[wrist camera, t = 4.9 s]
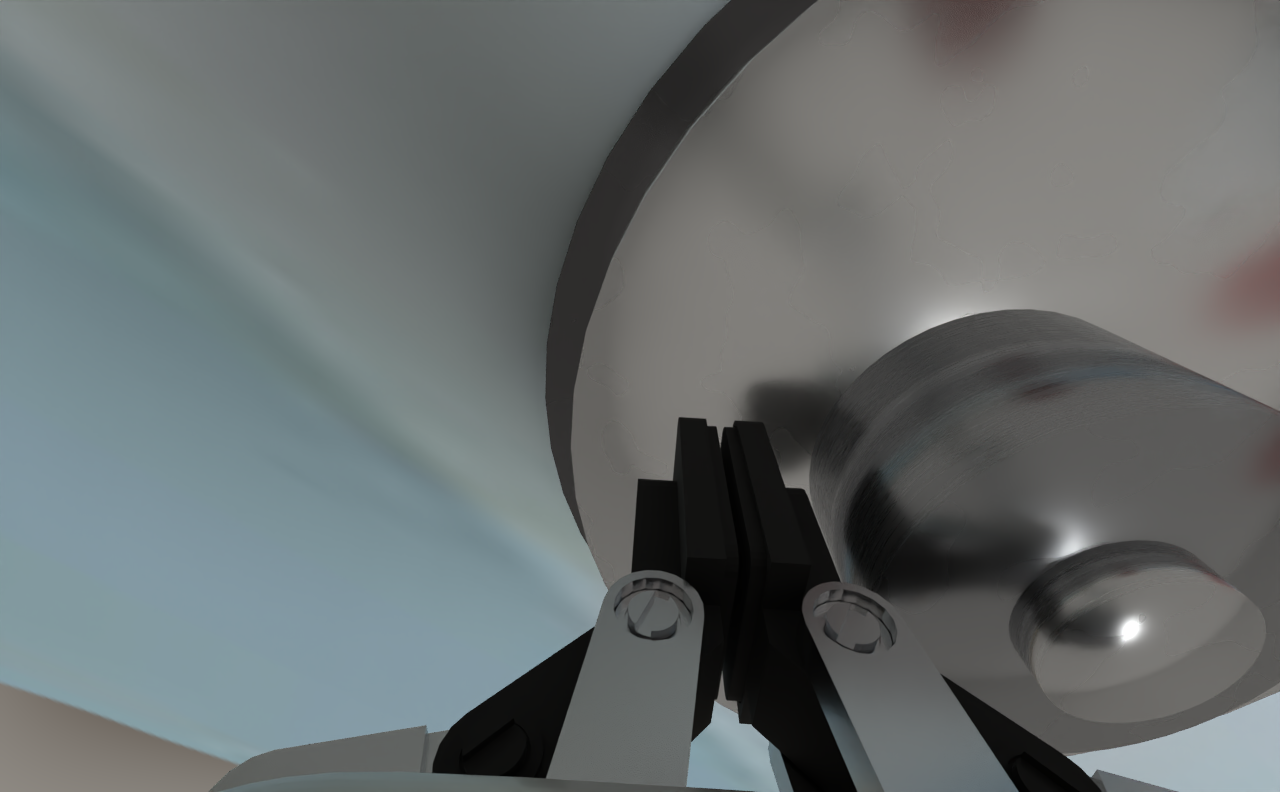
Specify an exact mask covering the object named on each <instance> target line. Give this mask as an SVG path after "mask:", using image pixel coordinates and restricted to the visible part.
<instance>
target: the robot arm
mask: <svg viewBox="0 0 1280 792" xmlns="http://www.w3.org/2000/svg"><path fill="white" fill-rule="evenodd" d="M722 674H723V683H724V692H725V697H726V700H727V701H737V708H738V715H739V723H741V724H752V726H753V727H754V728H755V729H756V730H757V731H759V732H760V733H761V734H762V735H763V736H764V737H765V738H766V739H767V740H768V741H769V746H768V750H769V756H770V762H771V766H772V769H773V772H774V775H775V778H776V782H777V785H778V788H779V791H780V792H1177V791H1173V790H1170V789H1166V788H1162V787H1159V786H1155V785H1151V784H1148V783H1144V782H1141V781H1137V780H1133V779H1130V778H1126V777H1122V776H1119V775H1115V774H1112V773H1108V772H1104V771H1101V770H1096V772H1095V773H1094V775H1093V776H1092V777H1089V776H1088V775H1087V774H1086V773H1085V772H1084V771H1083V770H1082V769H1081V768H1080V767H1079V766H1077V765H1076V764H1075V763H1074V762H1072V761H1071V760H1070V759H1068V758H1067V757H1066V756H1065V755H1063V754H1062V753H1061V752H1059V751H1058V750H1056V749H1055V748H1053V747H1052V746H1050V745H1048V744H1047V743H1045V742H1044V741H1042V740H1041V739H1039V738H1038V737H1036V736H1035V735H1033V734H1032V733H1030V732H1029V731H1027V730H1026V729H1024V728H1023V727H1021V726H1020V725H1018V724H1017V723H1015V722H1013V721H1012V720H1010V719H1009V718H1007V717H1006V716H1004V715H1003V714H1001V713H1000V712H998V711H997V710H995V709H994V708H992V707H991V706H989V705H988V704H986V703H985V702H983V701H982V700H980V699H979V698H977V697H975V696H974V695H972V694H971V693H969V692H968V691H966V690H965V689H963V688H962V687H960V686H959V685H957V684H956V683H954V682H953V681H951V680H950V679H948V678H947V677H945V676H944V675H942V674H940V673H939V671H938V670H937V668H936V667H935V665H934V664H933V662H932V661H931V659H930V658H929V656H928V655H927V653H926V652H925V650H924V649H923V647H922V646H921V644H920V643H919V641H918V640H917V638H916V637H915V635H914V634H913V632H912V631H911V629H910V628H909V626H908V625H907V623H906V622H905V620H904V619H903V617H902V616H901V615H900V614H899V612H898V611H897V610H896V609H895V608H894V607H893V606H892V604H890V603H889V602H888V601H886V600H885V599H884V598H882V597H881V596H880V595H878V594H876V593H874V592H872V591H870V590H868V589H866V588H864V587H862V586H858V585H855V584H851V583H847V582H841V580H840V578H839V575H838V573H837V570H836V567H835V565H834V562H833V560H832V557H831V555H830V552H829V549H828V547H827V544H826V542H825V539H824V537H823V534H822V531H821V529H820V526H819V524H818V521H817V519H816V516H815V513H814V511H813V508H812V506H811V503H810V501H809V498H808V496H807V494H806V492H805V490H804V489H802V488H786V487H785V484H784V482H783V479H782V476H781V473H780V470H779V467H778V464H777V461H776V458H775V455H774V452H773V449H772V446H771V443H770V440H769V437H768V434H767V431H766V428H765V425H764V423H763V422H755V421H738V420H735V421H734V424H733V427H724V428H723V432H722V439H721V447H720V443H719V437H718V432H717V427H716V426H707V420H706V419H704V418H687V417H679V418H678V426H677V437H676V449H675V460H674V472H673V481H670V480H653V479H638V484H637V498H636V512H635V526H634V540H633V555H632V569H631V573H630V574H628V575H626V576H624V577H622V578H620V579H619V580H618V581H616V582H615V583H614V584H613V585H612V586H611V587H610V588H609V590H608V592H607V594H606V596H605V597H604V600H603V603H602V606H601V609H600V612H599V616H598V619H597V622H596V625H595V627H593V628H592V629H590V630H589V631H587V632H586V633H584V634H583V635H581V636H580V637H578V638H577V639H576V640H574V641H573V642H571V643H570V644H568V645H567V646H565V647H564V648H562V649H561V650H559V651H558V652H556V653H555V654H553V655H552V656H551V657H549V658H548V659H546V660H545V661H543V662H542V663H540V664H539V665H537V666H536V667H534V668H533V669H531V670H530V671H528V672H527V673H526V674H524V675H523V676H521V677H520V678H518V679H517V680H515V681H514V682H512V683H511V684H509V685H508V686H506V687H505V688H503V689H502V690H501V691H499V692H498V693H496V694H495V695H493V696H492V697H490V698H489V699H487V700H486V701H484V702H483V703H481V704H480V705H478V706H477V707H476V708H474V709H473V710H471V711H470V712H468V713H467V714H466V715H464V716H463V717H462V718H461V719H460V720H459V721H458V722H456V723H455V724H454V725H453V726H452V727H451V728H450V730H446V731H440V732H434V733H428V731H427V726H426V725H425V726H419V727H413V728H406V729H400V730H394V731H388V732H382V733H376V734H370V735H363V736H357V737H351V738H345V739H339V740H333V741H326V742H320V743H314V744H308V745H302V746H296V747H290V748H283V749H277V750H273V751H270V752H267V753H264V754H261V755H257V756H254V757H252V758H250V759H248V760H247V761H245V762H244V763H242V764H240V765H239V766H237V767H236V768H234V769H232V770H231V771H229V772H228V773H227V774H226V775H225V776H224V777H223V778H222V779H221V780H220V781H219V782H218V783H217V784H216V785H215V786H214V787H213V788H212V789H211V790H210V791H209V792H753V791H738V790H723V789H708V788H691V787H686V785H687V776H688V766H689V757H690V747H691V742H692V741H693V740H694V739H695V738H696V737H697V736H698V735H699V734H700V733H701V732H702V731H703V730H704V729H705V728H706V727H707V726H708V725H709V724H710V723H711V718H712V712H713V706H714V700H717V698H718V693H719V687H720V681H721V675H722Z"/></svg>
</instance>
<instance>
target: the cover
mask: <svg viewBox="0 0 1280 792" xmlns="http://www.w3.org/2000/svg"><path fill="white" fill-rule="evenodd" d="M809 486H810V496H811V501H812V506H813V509H814V512H815V514H816V517H817V519H818V522H819V525H820V527H821V530H822V532H823V535H824V538H825V540H826V543H827V545H828V548H829V551H830V553H831V556H832V558H833V561H834V563H835V566H836V569H837V571H838V574H839V576H840V579H841V582H847V583H851V584H855V585H858V586H862V587H864V588H866V589H868V590H870V591H872V592H874V593H876V594H878V595H880V596H881V597H882V598H884V599H885V600H886V601H888V602H889V603H890V604H892V606H893V607H894V608H895V609H896V610H897V611H898V612H899V614H900V615H901V616H902V617H903V619H904V620H905V622H906V623H907V625H908V626H909V628H910V629H911V631H912V632H913V634H914V635H915V637H916V638H917V640H918V641H919V643H920V644H921V646H922V647H923V649H924V650H925V652H926V653H927V655H928V656H929V658H930V659H931V661H932V662H933V664H934V665H935V667H936V668H937V670H938V671H939V673H940V674H942V675H944V676H945V677H947V678H948V679H950V680H951V681H953V682H954V683H956V684H957V685H959V686H960V687H962V688H963V689H965V690H966V691H968V692H969V693H971V694H972V695H974V696H975V697H977V698H979V699H980V700H982V701H983V702H985V703H986V704H988V705H989V706H991V707H992V708H994V709H995V710H997V711H998V712H1000V713H1001V714H1003V715H1004V716H1006V717H1007V718H1009V719H1010V720H1012V721H1013V722H1015V723H1017V724H1018V725H1020V726H1021V727H1023V728H1024V729H1026V730H1027V731H1029V732H1030V733H1032V734H1033V735H1035V736H1036V737H1038V738H1039V739H1041V740H1042V741H1044V742H1045V743H1047V744H1048V745H1050V746H1052V747H1053V748H1055V749H1056V750H1058V751H1059V752H1061V753H1062V754H1064V753H1082V752H1090V751H1097V750H1105V749H1112V748H1117V747H1122V746H1127V745H1132V744H1137V743H1141V742H1145V741H1149V740H1152V739H1156V738H1160V737H1164V736H1167V735H1170V734H1173V733H1176V732H1179V731H1182V730H1185V729H1188V728H1191V727H1194V726H1196V725H1199V724H1201V723H1203V722H1206V721H1208V720H1211V719H1213V718H1215V717H1218V716H1220V715H1222V714H1225V713H1227V712H1229V711H1231V710H1233V709H1235V708H1237V707H1239V706H1240V705H1242V704H1244V703H1246V702H1248V701H1250V700H1252V699H1254V698H1255V697H1257V696H1259V695H1260V694H1262V693H1264V692H1265V691H1267V690H1269V689H1270V688H1272V687H1274V686H1275V685H1277V684H1279V683H1280V411H1278V410H1276V409H1274V408H1272V407H1270V406H1267V405H1265V404H1263V403H1261V402H1259V401H1257V400H1255V399H1252V398H1250V397H1248V396H1246V395H1244V394H1242V393H1240V392H1237V391H1235V390H1233V389H1231V388H1229V387H1227V386H1225V385H1223V384H1220V383H1218V382H1216V381H1214V380H1212V379H1210V378H1208V377H1205V376H1203V375H1201V374H1199V373H1197V372H1195V371H1193V370H1190V369H1188V368H1186V367H1184V366H1182V365H1180V364H1178V363H1175V362H1173V361H1171V360H1169V359H1167V358H1165V357H1163V356H1160V355H1158V354H1156V353H1154V352H1152V351H1150V350H1148V349H1145V348H1143V347H1141V346H1139V345H1137V344H1135V343H1133V342H1131V341H1128V340H1126V339H1124V338H1122V337H1120V336H1118V335H1116V334H1113V333H1111V332H1109V331H1107V330H1105V329H1103V328H1101V327H1098V326H1096V325H1094V324H1091V323H1089V322H1087V321H1084V320H1082V319H1080V318H1077V317H1073V316H1069V315H1065V314H1061V313H1057V312H1051V311H1042V310H1033V309H1013V310H999V311H992V312H984V313H979V314H975V315H971V316H967V317H963V318H959V319H955V320H952V321H949V322H947V323H944V324H941V325H938V326H936V327H933V328H930V329H928V330H926V331H924V332H922V333H920V334H918V335H916V336H914V337H912V338H910V339H908V340H906V341H905V342H903V343H901V344H900V345H898V346H897V347H895V348H894V349H892V350H890V351H889V352H887V353H886V354H884V355H883V356H882V357H881V358H879V359H878V360H877V361H876V362H874V363H873V364H872V365H870V366H869V367H868V368H867V369H866V370H865V371H864V372H863V373H862V374H861V375H860V376H859V377H858V378H857V379H856V380H855V381H854V382H853V383H852V384H851V385H850V386H849V387H848V388H847V389H846V391H845V392H844V393H843V394H842V396H841V397H840V398H839V399H838V401H837V402H836V403H835V405H834V406H833V408H832V410H831V411H830V413H829V415H828V416H827V418H826V419H825V421H824V423H823V426H822V428H821V430H820V432H819V435H818V437H817V439H816V443H815V446H814V450H813V453H812V457H811V464H810V472H809Z"/></svg>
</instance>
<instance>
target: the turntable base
mask: <svg viewBox="0 0 1280 792" xmlns="http://www.w3.org/2000/svg"><path fill="white" fill-rule="evenodd" d="M816 1H818V0H731V1H730V2H729V3H728V4H727V5H726V6H725V7H724V8H723V9H722V10H720V11H719V12H718V13H717V14H716V15H715V16H714V17H713V18H712V19H711V20H710V21H709V22H708V23H707V24H705V26H704V27H703V28H702V29H701V30H700V32H699V33H698V34H697V35H696V36H695V38H694V39H693V40H692V41H691V42H690V44H689V45H688V46H687V47H686V48H685V50H684V51H683V52H682V53H681V54H680V56H679V57H678V58H677V59H676V60H675V62H674V63H673V64H672V65H671V66H670V67H669V69H668V70H667V71H666V72H665V73H664V75H663V76H662V77H661V78H660V79H659V81H658V82H657V83H656V84H655V85H654V87H653V88H652V89H651V90H650V92H649V93H648V95H647V96H646V98H645V100H644V101H643V103H642V104H641V106H640V107H639V109H638V110H637V112H636V114H635V115H634V117H633V118H632V120H631V121H630V123H629V125H628V126H627V128H626V129H625V131H624V132H623V134H622V135H621V137H620V139H619V140H618V142H617V143H616V145H615V146H614V148H613V150H612V151H611V153H610V154H609V156H608V158H607V160H606V162H605V164H604V166H603V168H602V170H601V172H600V174H599V177H598V179H597V181H596V183H595V185H594V187H593V189H592V191H591V194H590V196H589V198H588V200H587V202H586V204H585V206H584V208H583V211H582V213H581V215H580V217H579V219H578V221H577V224H576V227H575V230H574V233H573V236H572V240H571V243H570V246H569V249H568V252H567V255H566V258H565V262H564V265H563V268H562V271H561V274H560V277H559V280H558V283H557V289H556V294H555V300H554V306H553V312H552V317H551V323H550V329H549V335H548V341H547V362H546V395H545V398H546V407H547V416H548V424H549V433H550V441H551V449H552V453H553V456H554V460H555V464H556V467H557V471H558V475H559V479H560V482H561V486H562V490H563V493H564V496H565V498H566V500H567V503H568V505H569V507H570V510H571V512H572V514H573V516H574V519H575V521H576V523H577V526H578V528H579V530H580V533H581V535H582V536H583V538H584V539H585V541H586V543H587V539H586V535H585V532H584V528H583V524H582V520H581V516H580V512H579V509H578V505H577V501H576V495H575V485H574V475H573V465H572V454H571V434H572V415H573V396H574V388H575V383H576V378H577V373H578V368H579V363H580V358H581V353H582V348H583V343H584V339H585V334H586V330H587V327H588V324H589V321H590V318H591V315H592V313H593V310H594V307H595V304H596V301H597V299H598V296H599V293H600V290H601V287H602V284H603V282H604V279H605V276H606V273H607V270H608V268H609V265H610V262H611V260H612V257H613V254H614V252H615V249H616V246H617V244H618V242H619V240H620V238H621V236H622V234H623V232H624V230H625V228H626V226H627V224H628V223H629V221H630V219H631V217H632V215H633V213H634V211H635V209H636V207H637V205H638V203H639V201H640V199H641V197H642V195H643V193H644V191H645V189H646V187H647V186H648V184H649V183H650V181H651V180H652V178H653V177H654V175H655V174H656V172H657V171H658V170H659V168H660V167H661V165H662V164H663V162H664V161H665V159H666V158H667V156H668V155H669V153H670V152H671V150H672V149H673V148H674V146H675V145H676V143H677V142H678V140H679V139H680V137H681V136H682V134H683V133H684V131H685V130H686V129H687V127H688V126H689V125H690V124H691V123H692V121H693V120H694V119H695V118H696V117H697V116H698V115H699V113H700V112H701V111H702V110H703V109H704V108H705V107H706V106H707V104H708V103H709V102H710V101H711V100H712V99H713V98H714V96H715V95H716V94H717V93H718V92H719V91H720V90H721V89H722V87H723V86H724V85H725V84H726V83H727V82H728V81H729V80H730V78H731V77H732V76H733V75H734V74H735V73H736V72H737V70H738V69H739V68H740V67H742V66H743V65H744V64H745V63H746V62H747V61H748V60H749V59H751V58H752V57H753V56H754V55H755V54H756V53H757V52H758V51H760V50H761V49H762V48H763V47H764V46H765V45H766V44H767V43H769V42H770V41H771V40H772V39H773V38H774V37H775V36H777V35H778V34H779V33H780V32H781V31H782V30H783V29H784V28H786V27H787V26H788V25H789V24H790V23H791V22H792V21H793V20H795V19H796V18H797V17H798V16H799V15H800V14H801V13H803V12H804V11H805V10H806V9H808V8H809V7H810V6H811V5H813V4H814V3H815V2H816ZM587 544H588V543H587Z"/></svg>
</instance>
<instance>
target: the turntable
mask: <svg viewBox="0 0 1280 792" xmlns="http://www.w3.org/2000/svg"><path fill="white" fill-rule="evenodd" d="M1013 309H1033V310H1042V311H1051V312H1057V313H1061V314H1065V315H1069V316H1073V317H1077V318H1080V319H1082V320H1084V321H1087V322H1089V323H1091V324H1094V325H1096V326H1098V327H1101V328H1103V329H1105V330H1107V331H1109V332H1111V333H1113V334H1116V335H1118V336H1120V337H1122V338H1124V339H1126V340H1128V341H1131V342H1133V343H1135V344H1137V345H1139V346H1141V347H1143V348H1145V349H1148V350H1150V351H1152V352H1154V353H1156V354H1158V355H1160V356H1163V357H1165V358H1167V359H1169V360H1171V361H1173V362H1175V363H1178V364H1180V365H1182V366H1184V367H1186V368H1188V369H1190V370H1193V371H1195V372H1197V373H1199V374H1201V375H1203V376H1205V377H1208V378H1210V379H1212V380H1214V381H1216V382H1218V383H1220V384H1223V385H1225V386H1227V387H1229V388H1231V389H1233V390H1235V391H1237V392H1240V393H1242V394H1244V395H1246V396H1248V397H1250V398H1252V399H1255V400H1257V401H1259V402H1261V403H1263V404H1265V405H1267V406H1270V407H1272V408H1274V409H1276V410H1278V411H1280V0H818V1H816V2H815V3H814V4H813V5H811V6H810V7H809V8H808V9H806V10H805V11H804V12H803V13H801V14H800V15H799V16H798V17H797V18H796V19H795V20H793V21H792V22H791V23H790V24H789V25H788V26H787V27H786V28H784V29H783V30H782V31H781V32H780V33H779V34H778V35H777V36H775V37H774V38H773V39H772V40H771V41H770V42H769V43H767V44H766V45H765V46H764V47H763V48H762V49H761V50H760V51H758V52H757V53H756V54H755V55H754V56H753V57H752V58H751V59H749V60H748V61H747V62H746V63H745V64H744V65H743V66H742V67H740V68H739V69H738V70H737V72H736V73H735V74H734V75H733V76H732V77H731V78H730V80H729V81H728V82H727V83H726V84H725V85H724V86H723V87H722V89H721V90H720V91H719V92H718V93H717V94H716V95H715V96H714V98H713V99H712V100H711V101H710V102H709V103H708V104H707V106H706V107H705V108H704V109H703V110H702V111H701V112H700V113H699V115H698V116H697V117H696V118H695V119H694V120H693V121H692V123H691V124H690V125H689V126H688V127H687V129H686V130H685V131H684V133H683V134H682V136H681V137H680V139H679V140H678V142H677V143H676V145H675V146H674V148H673V149H672V150H671V152H670V153H669V155H668V156H667V158H666V159H665V161H664V162H663V164H662V165H661V167H660V168H659V170H658V171H657V172H656V174H655V175H654V177H653V178H652V180H651V181H650V183H649V184H648V186H647V187H646V189H645V191H644V193H643V195H642V197H641V199H640V201H639V203H638V205H637V207H636V209H635V211H634V213H633V215H632V217H631V219H630V221H629V223H628V224H627V226H626V228H625V230H624V232H623V234H622V236H621V238H620V240H619V242H618V244H617V246H616V249H615V252H614V254H613V257H612V260H611V262H610V265H609V268H608V270H607V273H606V276H605V279H604V282H603V284H602V287H601V290H600V293H599V296H598V299H597V301H596V304H595V307H594V310H593V313H592V315H591V318H590V321H589V324H588V327H587V330H586V334H585V339H584V343H583V348H582V353H581V358H580V363H579V368H578V373H577V378H576V383H575V388H574V396H573V415H572V434H571V454H572V465H573V475H574V485H575V495H576V501H577V505H578V509H579V512H580V516H581V520H582V524H583V528H584V532H585V535H586V539H587V543H588V546H589V548H590V551H591V553H592V555H593V557H594V560H595V562H596V564H597V567H598V569H599V571H600V574H601V576H602V578H603V581H604V583H605V585H606V587H607V588H608V590H609V588H610V587H611V586H612V585H613V584H614V583H615V582H616V581H618V580H619V579H620V578H622V577H624V576H626V575H628V574H630V573H631V569H632V555H633V540H634V526H635V512H636V498H637V484H638V479H653V480H670V481H673V472H674V460H675V449H676V437H677V426H678V418H679V417H687V418H704V419H706V420H707V426H716V427H717V432H718V437H719V443H720V447H721V439H722V432H723V428H724V427H733V424H734V421H735V420H738V421H755V422H763V423H764V425H765V428H766V431H767V434H768V437H769V440H770V443H771V446H772V449H773V452H774V455H775V458H776V461H777V464H778V467H779V470H780V473H781V476H782V479H783V482H784V484H785V487H786V488H802V489H804V490H805V492H806V494H807V496H808V498H809V501H810V503H811V506H812V501H811V496H810V486H809V472H810V464H811V457H812V453H813V450H814V446H815V443H816V439H817V437H818V435H819V432H820V430H821V428H822V426H823V423H824V421H825V419H826V418H827V416H828V415H829V413H830V411H831V410H832V408H833V406H834V405H835V403H836V402H837V401H838V399H839V398H840V397H841V396H842V394H843V393H844V392H845V391H846V389H847V388H848V387H849V386H850V385H851V384H852V383H853V382H854V381H855V380H856V379H857V378H858V377H859V376H860V375H861V374H862V373H863V372H864V371H865V370H866V369H867V368H868V367H869V366H870V365H872V364H873V363H874V362H876V361H877V360H878V359H879V358H881V357H882V356H883V355H884V354H886V353H887V352H889V351H890V350H892V349H894V348H895V347H897V346H898V345H900V344H901V343H903V342H905V341H906V340H908V339H910V338H912V337H914V336H916V335H918V334H920V333H922V332H924V331H926V330H928V329H930V328H933V327H936V326H938V325H941V324H944V323H947V322H949V321H952V320H955V319H959V318H963V317H967V316H971V315H975V314H979V313H984V312H992V311H999V310H1013ZM812 508H813V506H812ZM813 511H814V509H813ZM814 513H815V512H814ZM815 516H816V514H815ZM816 519H817V517H816ZM817 521H818V519H817ZM818 524H819V522H818ZM819 526H820V525H819ZM820 529H821V527H820ZM821 531H822V530H821ZM822 534H823V532H822ZM823 537H824V535H823ZM824 539H825V538H824ZM825 542H826V540H825ZM826 544H827V543H826ZM827 547H828V545H827ZM828 549H829V548H828ZM829 552H830V551H829ZM830 555H831V553H830ZM831 557H832V556H831ZM832 560H833V558H832ZM833 562H834V561H833ZM834 565H835V563H834ZM835 567H836V566H835ZM836 570H837V569H836ZM837 573H838V571H837ZM838 575H839V574H838ZM839 578H840V576H839ZM840 580H841V579H840ZM1279 691H1280V683H1279V684H1277V685H1275V686H1274V687H1272V688H1270V689H1269V690H1267V691H1265V692H1264V693H1262V694H1260V695H1259V696H1257V697H1255V698H1254V699H1252V700H1250V701H1248V702H1246V703H1244V704H1242V705H1240V706H1239V707H1237V708H1235V709H1233V710H1231V711H1229V712H1232V711H1234V710H1237V709H1239V708H1241V707H1244V706H1246V705H1248V704H1251V703H1253V702H1256V701H1258V700H1260V699H1263V698H1265V697H1267V696H1270V695H1272V694H1275V693H1277V692H1279ZM715 701H716V702H718V703H719V704H721V705H723V706H724V707H726V708H728V709H730V710H732V711H734V712H736V713H738V708H737V701H727V700H726V697H725V692H724V683H723V674H722V675H721V681H720V687H719V693H718V698H717V700H715ZM1229 712H1227V713H1229ZM1225 714H1226V713H1225ZM1222 715H1224V714H1222ZM1220 716H1221V715H1220ZM1090 752H1091V751H1090ZM1082 753H1086V752H1082ZM1076 754H1081V753H1064V754H1063V755H1065V756H1071V755H1076Z"/></svg>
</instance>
